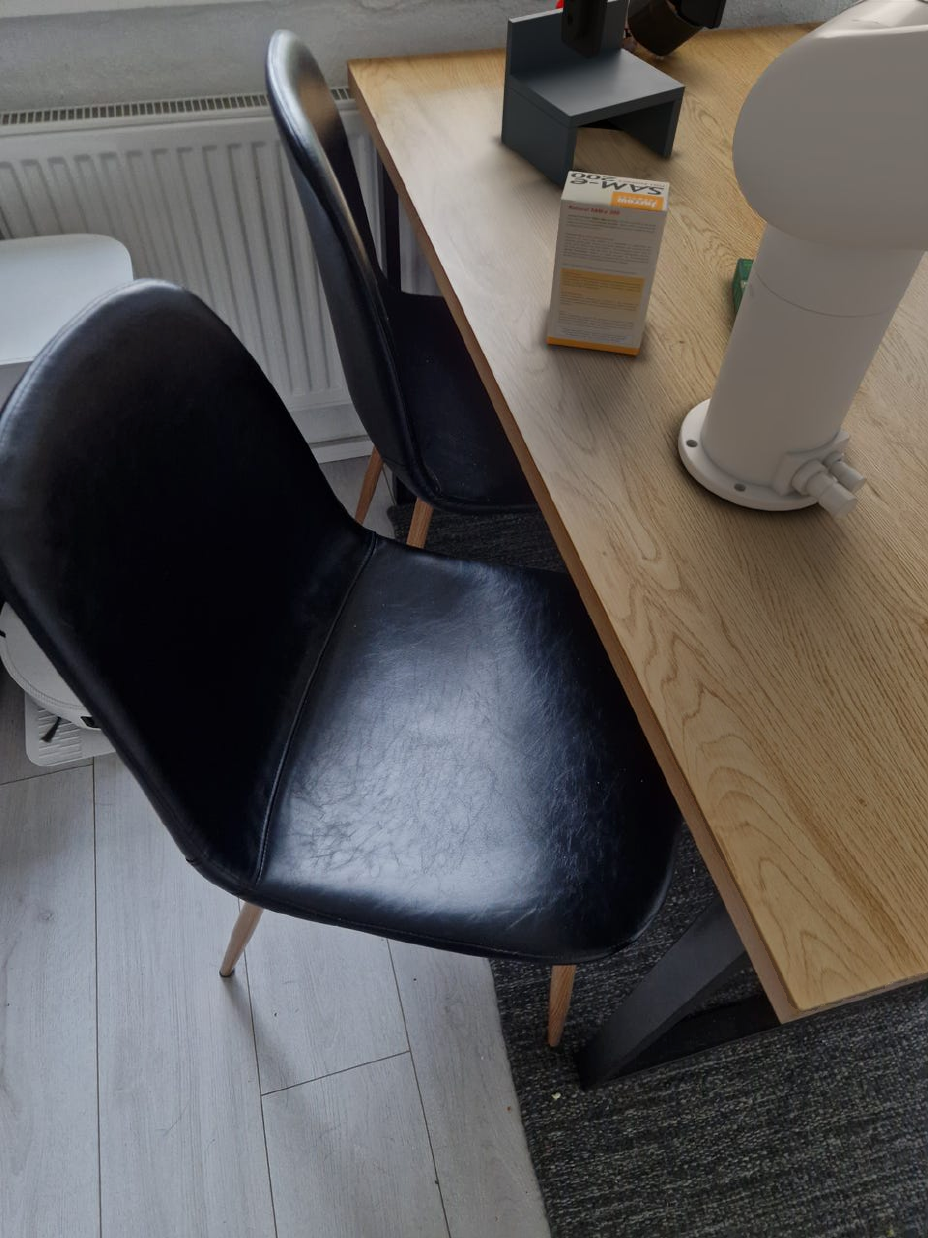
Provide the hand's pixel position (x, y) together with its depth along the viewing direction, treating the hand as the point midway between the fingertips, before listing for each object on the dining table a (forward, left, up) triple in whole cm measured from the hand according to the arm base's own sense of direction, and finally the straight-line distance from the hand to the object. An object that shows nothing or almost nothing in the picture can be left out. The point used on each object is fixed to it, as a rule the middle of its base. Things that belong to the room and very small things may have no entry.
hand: (641, 35), depth 55 cm
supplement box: (+3, -3, -25) cm, 26 cm away
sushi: (+44, -47, -17) cm, 66 cm away
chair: (+32, -23, -25) cm, 47 cm away
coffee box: (+1, -23, -24) cm, 33 cm away
